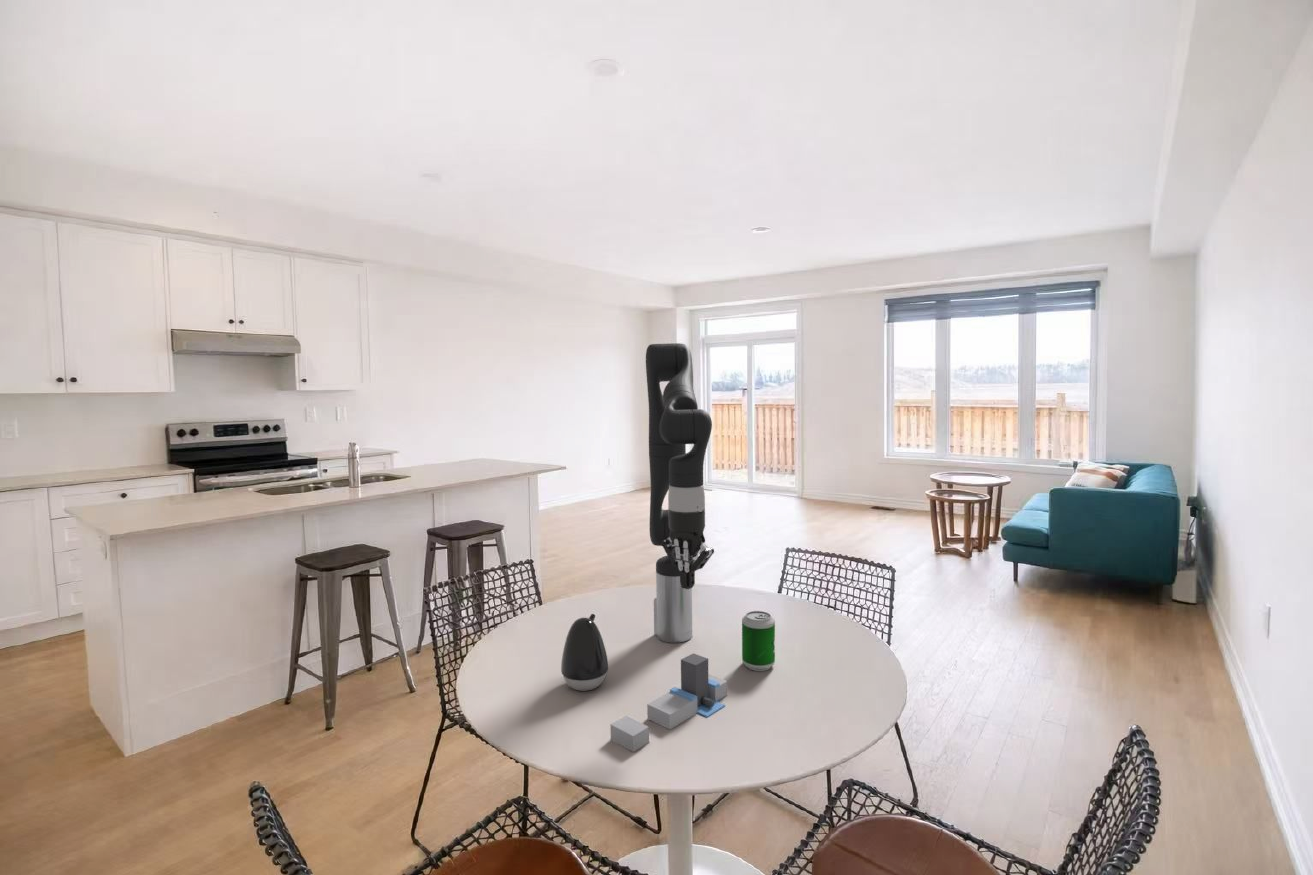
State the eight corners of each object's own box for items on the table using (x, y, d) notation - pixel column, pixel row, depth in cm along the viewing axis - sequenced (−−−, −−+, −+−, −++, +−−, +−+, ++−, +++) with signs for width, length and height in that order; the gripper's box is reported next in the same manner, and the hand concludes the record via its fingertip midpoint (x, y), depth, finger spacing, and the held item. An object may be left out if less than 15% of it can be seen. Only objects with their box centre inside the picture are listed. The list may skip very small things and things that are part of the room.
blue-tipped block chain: (601, 734, 123) (601, 716, 122) (696, 682, 143) (696, 666, 143) (643, 757, 115) (643, 738, 115) (736, 698, 135) (736, 682, 135)
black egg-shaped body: (616, 677, 146) (614, 612, 144) (596, 699, 136) (595, 629, 134) (575, 671, 149) (573, 607, 148) (553, 692, 139) (551, 624, 138)
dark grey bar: (681, 701, 134) (680, 659, 133) (693, 694, 137) (693, 653, 136) (705, 711, 130) (705, 668, 129) (718, 704, 132) (717, 662, 132)
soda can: (774, 673, 146) (774, 622, 145) (741, 671, 148) (740, 620, 147) (775, 659, 154) (775, 610, 153) (743, 657, 155) (743, 608, 154)
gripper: (650, 505, 135) (652, 585, 137) (700, 514, 126) (700, 600, 128) (674, 499, 140) (675, 576, 142) (723, 507, 132) (723, 590, 134)
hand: (687, 587), depth 135 cm, fingers closed
